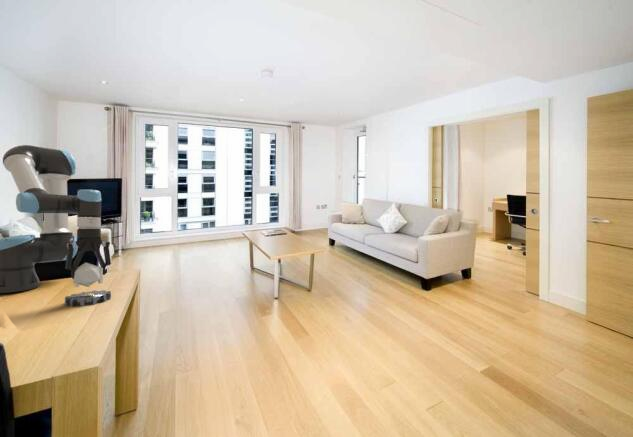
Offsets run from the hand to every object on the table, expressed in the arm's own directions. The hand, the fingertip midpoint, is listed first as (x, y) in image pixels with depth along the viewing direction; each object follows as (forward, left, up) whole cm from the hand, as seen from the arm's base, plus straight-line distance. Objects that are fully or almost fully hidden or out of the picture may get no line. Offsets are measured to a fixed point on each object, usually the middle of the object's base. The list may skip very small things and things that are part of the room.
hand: (88, 284), depth 114 cm
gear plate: (0, 0, -7) cm, 7 cm away
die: (0, 0, -1) cm, 1 cm away
